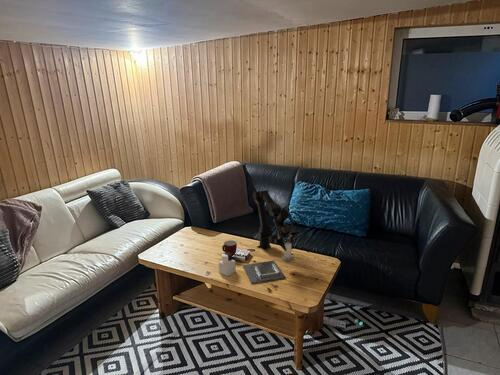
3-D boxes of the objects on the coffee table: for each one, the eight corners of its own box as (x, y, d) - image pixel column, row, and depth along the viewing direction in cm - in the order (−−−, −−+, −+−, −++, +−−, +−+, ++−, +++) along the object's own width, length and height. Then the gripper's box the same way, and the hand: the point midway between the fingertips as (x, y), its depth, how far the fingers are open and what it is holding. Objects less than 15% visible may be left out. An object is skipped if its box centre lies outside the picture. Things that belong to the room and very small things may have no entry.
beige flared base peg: (279, 259, 192) (279, 244, 190) (286, 255, 197) (286, 240, 195) (288, 263, 188) (289, 247, 185) (295, 258, 193) (296, 243, 190)
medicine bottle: (227, 267, 197) (226, 249, 194) (235, 271, 193) (235, 253, 190) (218, 272, 192) (218, 254, 189) (227, 276, 188) (227, 257, 184)
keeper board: (251, 284, 180) (251, 280, 179) (242, 266, 198) (242, 262, 198) (285, 278, 185) (285, 274, 184) (273, 261, 203) (273, 258, 203)
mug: (218, 257, 209) (218, 243, 207) (225, 252, 216) (224, 238, 214) (233, 261, 205) (232, 246, 202) (239, 255, 212) (238, 241, 209)
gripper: (270, 222, 186) (279, 248, 179) (299, 217, 193) (308, 242, 186) (264, 230, 195) (272, 254, 189) (292, 225, 202) (300, 248, 195)
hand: (289, 250), depth 189 cm, fingers closed on beige flared base peg, 4 cm apart
